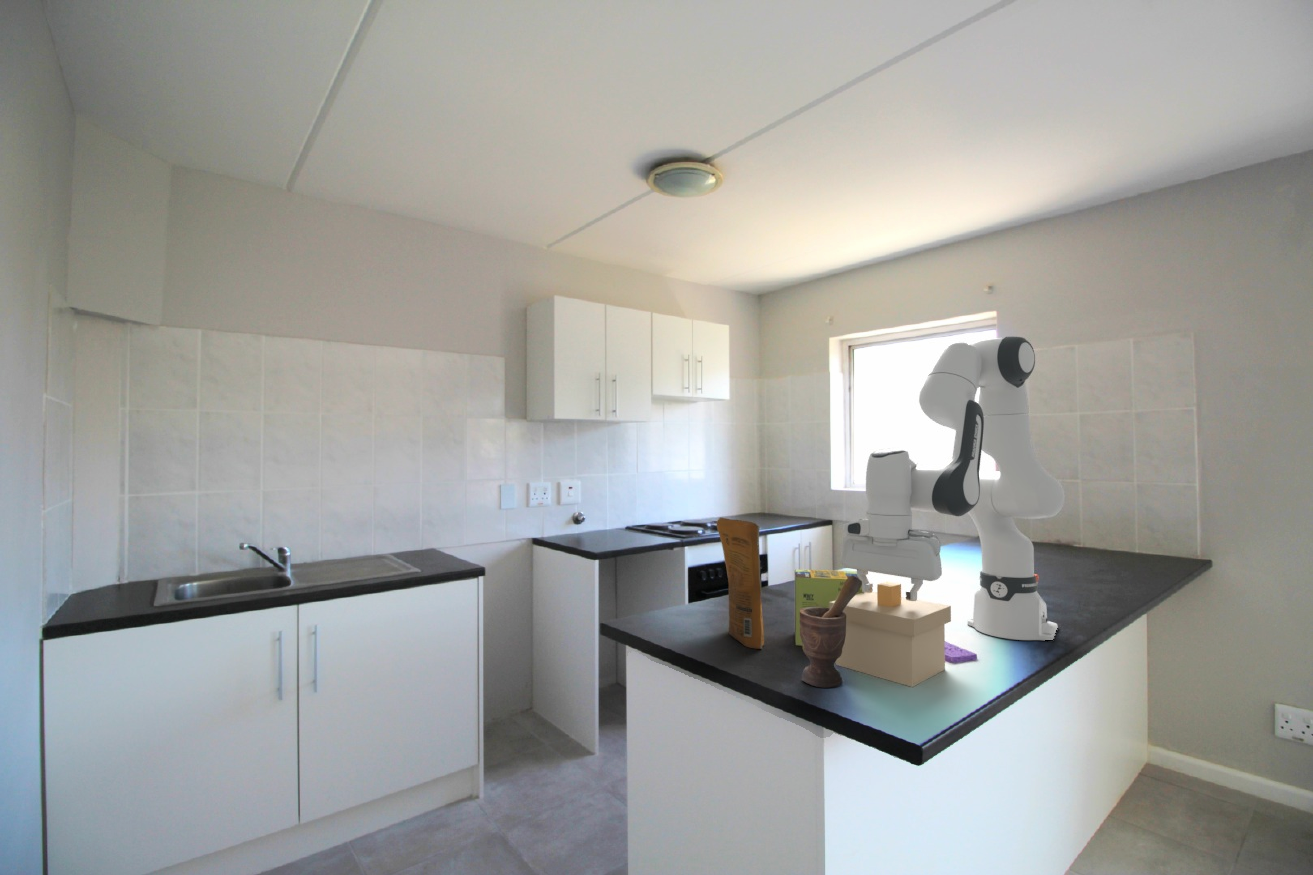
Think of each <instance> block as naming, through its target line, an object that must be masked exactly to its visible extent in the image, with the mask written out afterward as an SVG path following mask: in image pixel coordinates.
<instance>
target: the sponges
mask: <svg viewBox="0 0 1313 875" xmlns="http://www.w3.org/2000/svg"><path fill="white" fill-rule="evenodd" d="M976 659H977V660H978V654H977V653H975V652H974V651H970V650H968V649H965V648H962V647H959V646H957V645H955V644H953V643H950V642H948V641H945V662H949V663H955V664H956V663H963V662H966V661H967V662H970V661H977V660H976Z"/></svg>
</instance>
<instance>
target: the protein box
mask: <svg viewBox="0 0 1313 875" xmlns="http://www.w3.org/2000/svg"><path fill="white" fill-rule="evenodd" d="M851 575H853V576H855V577H857V578H858V576H857V570H855V571H854V570H831V569H830V570H829V569H828V570H825V569H794V643H795V646H801V647H803V644H802V641H801V637H800V609H801V608H806V607H827V608H829V602H832V601H835V600H836V599H837V597H838V595H839V593H840V591H841V588H842V586H843V585H844V583H845V581H846V580H847V578H848V577H849V576H851ZM860 593H864V592H862V585H861V587H860V589H859V591H858V592H857V593H856V595H857V594H860Z"/></svg>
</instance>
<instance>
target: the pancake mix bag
mask: <svg viewBox="0 0 1313 875" xmlns="http://www.w3.org/2000/svg"><path fill="white" fill-rule="evenodd" d="M716 529H717V532H718V535H719V538H720V542H721V547H722V552H723V557H724V558H723V559H724V564H725V567H726V574H727V579H728V580H727V582H728V635H729V636H731V638H733V639H734V640H736V641H738V642H739V643H741V645H743V646H744V647H745V648H751V649H757V650H758V649H761V650H763V646H764V645H765V638H764V636H765V635H764V620H763V617H764V616H763V607H762V606H763V605H762V577H761V560H760V557H761V555H760V529H761V526H759V524H756V522H752V521H748V520H742V519H732V518H731V519H730V518H727V517H725V518H724V517H719V518H718V520H716Z"/></svg>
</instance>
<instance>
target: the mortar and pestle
mask: <svg viewBox="0 0 1313 875" xmlns="http://www.w3.org/2000/svg"><path fill="white" fill-rule="evenodd" d="M861 585H862V581H861V580H860V579H859V578H857V577H855V576H853V575H851V576H849V577H848V578H847V580H846V581H845V583H844V585H843V586H842V588H841V591H840V593H839V595H838V597H837V599H836V600H835V602H834V604H833V606H832V607H831V608H827V607H806V608H801V609H800V637H801V641H802V644H803V646H801V647H802V650H803V653H804V655H806V657H807V658H808V660H809V663H810V664H809V665H808V666H805V668H804V669H803V671H802V673H801V681H803V682H804V683H806V684H808V685H811V686H814V687H817V688H836V687H838V686H840V685H841V684H843V678H842V676H841V673H840V671H839V670H837V668H836V667H835V663H836V660H837V659H838V658H839V657H840V656H841V654H842V648H843V645H844V643H845V637H846V614H845V613H844V612H842V611H843V610H844V608H845V607H846V606H847V604H848V603H849V602H850V600H851V599H852V598H853V597H854V596H855V595H856V593H857V592H858V591H859V589H860V587H861Z"/></svg>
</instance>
